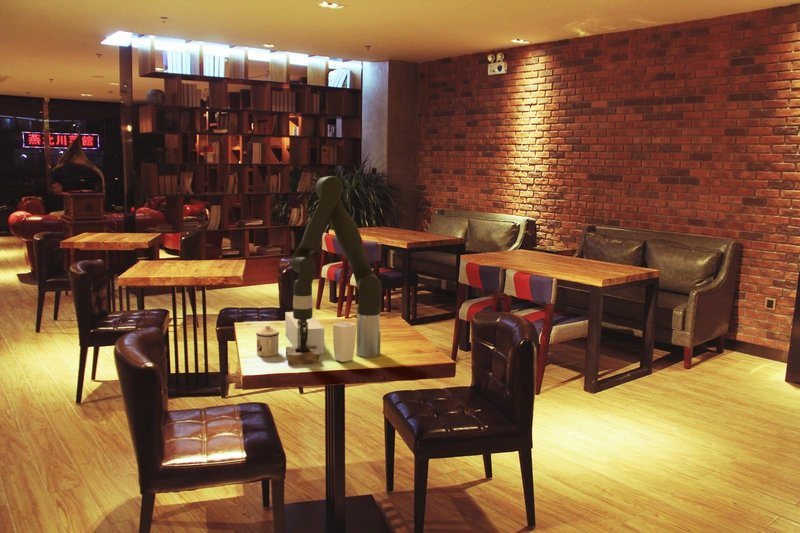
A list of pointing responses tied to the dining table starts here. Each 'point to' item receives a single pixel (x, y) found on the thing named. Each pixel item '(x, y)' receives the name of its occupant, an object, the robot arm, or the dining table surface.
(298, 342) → the metal pin
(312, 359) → the socket block
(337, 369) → the dining table surface
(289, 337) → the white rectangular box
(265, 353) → the teacup with lid
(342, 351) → the cup
